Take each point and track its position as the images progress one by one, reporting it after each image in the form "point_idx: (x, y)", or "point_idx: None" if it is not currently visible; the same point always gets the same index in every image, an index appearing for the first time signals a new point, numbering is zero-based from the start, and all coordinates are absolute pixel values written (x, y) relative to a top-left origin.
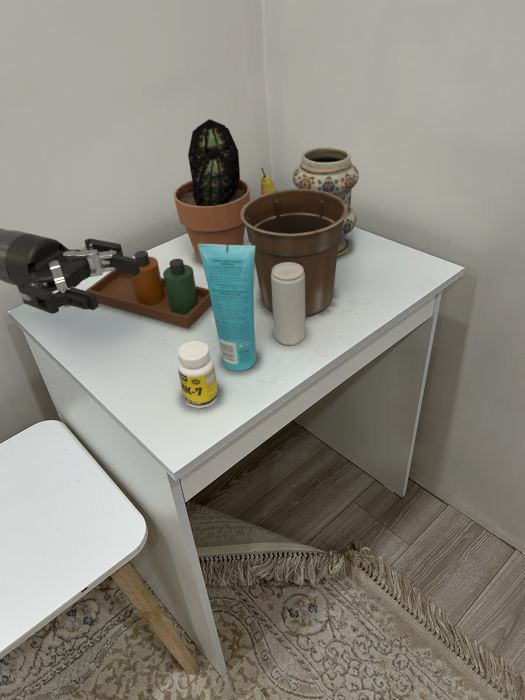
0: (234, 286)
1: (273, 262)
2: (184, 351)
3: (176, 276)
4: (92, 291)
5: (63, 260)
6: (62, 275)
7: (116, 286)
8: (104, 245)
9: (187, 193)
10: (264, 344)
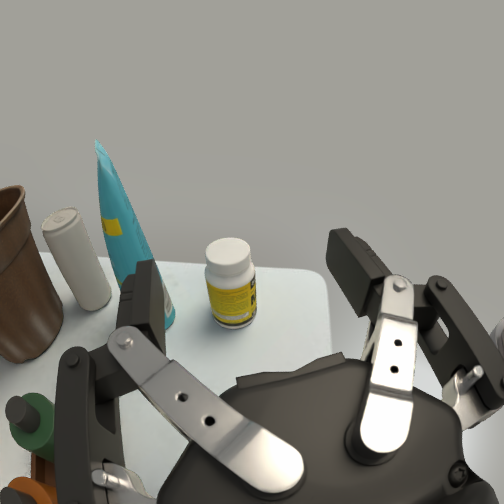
0: (127, 197)
1: (26, 257)
2: (236, 255)
3: (43, 414)
4: None
5: (305, 475)
6: (384, 319)
7: None
8: (83, 409)
9: None
10: (115, 313)
